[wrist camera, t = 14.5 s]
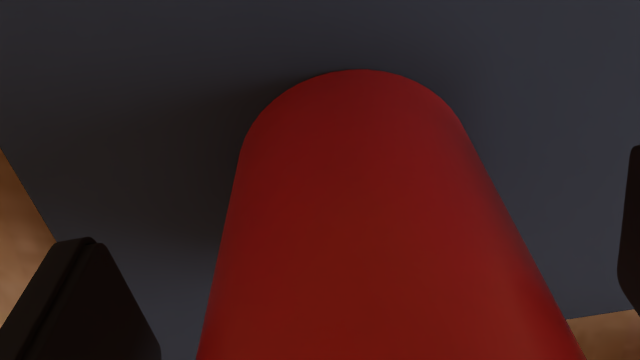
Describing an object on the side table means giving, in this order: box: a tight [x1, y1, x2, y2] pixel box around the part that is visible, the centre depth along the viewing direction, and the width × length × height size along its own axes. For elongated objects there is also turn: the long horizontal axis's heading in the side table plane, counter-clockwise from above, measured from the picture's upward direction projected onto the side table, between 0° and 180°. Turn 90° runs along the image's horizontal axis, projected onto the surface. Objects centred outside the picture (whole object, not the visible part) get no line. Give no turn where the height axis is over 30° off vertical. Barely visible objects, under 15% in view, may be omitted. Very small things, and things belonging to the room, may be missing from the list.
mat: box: [0, 0, 640, 360], centre depth 12 cm, size 14×11×1 cm
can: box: [196, 69, 587, 360], centre depth 9 cm, size 5×5×7 cm
